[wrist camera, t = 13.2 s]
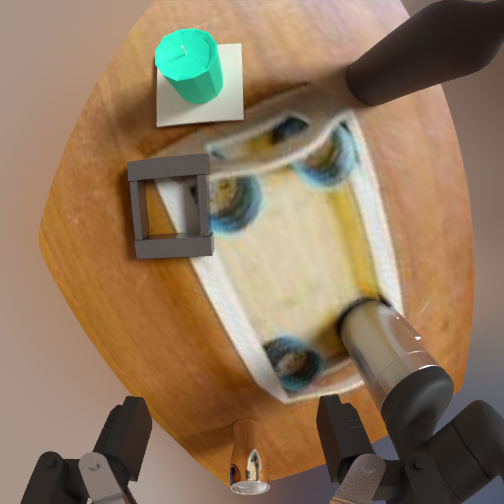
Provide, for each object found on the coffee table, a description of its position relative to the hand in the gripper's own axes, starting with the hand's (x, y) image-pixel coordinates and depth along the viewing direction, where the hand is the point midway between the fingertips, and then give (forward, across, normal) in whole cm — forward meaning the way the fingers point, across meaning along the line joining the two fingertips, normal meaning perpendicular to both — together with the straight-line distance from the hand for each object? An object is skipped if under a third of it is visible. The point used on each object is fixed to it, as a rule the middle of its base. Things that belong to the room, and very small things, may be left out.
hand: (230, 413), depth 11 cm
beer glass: (+28, 0, +37) cm, 47 cm away
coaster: (+28, +4, -22) cm, 36 cm away
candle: (+27, +4, -22) cm, 35 cm away
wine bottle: (+28, -19, -23) cm, 41 cm away
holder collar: (+28, +8, -6) cm, 30 cm away
